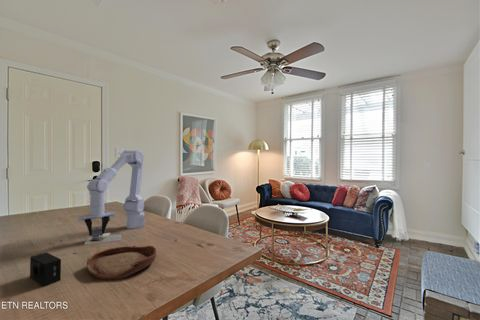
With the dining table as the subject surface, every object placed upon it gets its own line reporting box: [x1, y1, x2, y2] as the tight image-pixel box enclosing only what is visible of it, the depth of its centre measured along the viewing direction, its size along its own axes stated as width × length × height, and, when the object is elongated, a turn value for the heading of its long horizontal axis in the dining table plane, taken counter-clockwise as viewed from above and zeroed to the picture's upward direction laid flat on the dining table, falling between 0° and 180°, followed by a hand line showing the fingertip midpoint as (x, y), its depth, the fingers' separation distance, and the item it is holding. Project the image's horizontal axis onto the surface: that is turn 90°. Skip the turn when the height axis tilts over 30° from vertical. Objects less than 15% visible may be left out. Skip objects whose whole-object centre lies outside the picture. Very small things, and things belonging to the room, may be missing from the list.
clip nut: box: [91, 225, 103, 241], centre depth 103 cm, size 4×4×5 cm
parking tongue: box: [102, 232, 111, 236], centre depth 111 cm, size 3×5×1 cm, turn 24°
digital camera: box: [29, 252, 62, 288], centre depth 71 cm, size 10×5×7 cm, turn 61°
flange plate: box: [84, 233, 123, 245], centre depth 104 cm, size 14×8×2 cm, turn 114°
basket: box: [86, 245, 157, 281], centre depth 81 cm, size 22×20×5 cm
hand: (96, 234), depth 103 cm, fingers closed on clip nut, 4 cm apart
